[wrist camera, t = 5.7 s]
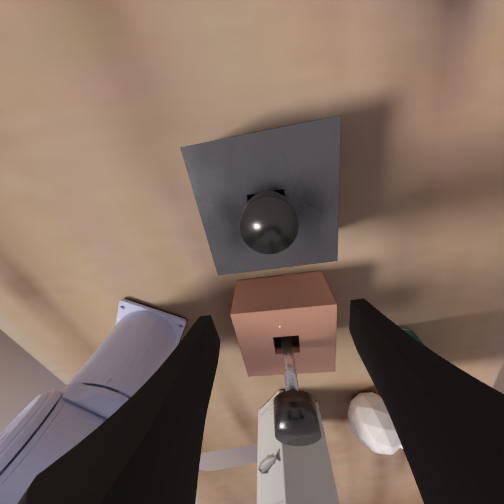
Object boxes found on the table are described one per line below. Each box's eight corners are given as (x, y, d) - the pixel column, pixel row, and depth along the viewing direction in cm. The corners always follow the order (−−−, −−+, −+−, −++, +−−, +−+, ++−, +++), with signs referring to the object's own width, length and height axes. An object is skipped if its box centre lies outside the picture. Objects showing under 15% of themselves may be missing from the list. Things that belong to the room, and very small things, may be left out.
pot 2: (322, 331, 25) (335, 371, 21) (250, 337, 26) (248, 376, 22) (321, 270, 21) (336, 304, 17) (236, 280, 22) (230, 314, 18)
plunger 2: (302, 347, 21) (321, 445, 14) (272, 349, 21) (277, 446, 14) (300, 325, 19) (321, 423, 12) (268, 328, 20) (272, 425, 13)
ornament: (350, 380, 29) (410, 427, 23) (368, 382, 33) (424, 422, 27) (331, 423, 29) (387, 482, 23) (352, 419, 33) (405, 468, 27)
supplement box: (278, 387, 31) (287, 522, 20) (319, 401, 33) (349, 535, 21) (256, 409, 34) (254, 536, 23) (294, 421, 36) (309, 547, 25)
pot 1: (320, 234, 19) (337, 260, 15) (227, 246, 20) (218, 275, 16) (318, 123, 15) (340, 115, 11) (202, 146, 16) (180, 147, 12)
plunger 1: (285, 210, 18) (300, 250, 11) (251, 215, 18) (245, 257, 11) (282, 174, 16) (296, 194, 10) (245, 180, 17) (234, 204, 10)
